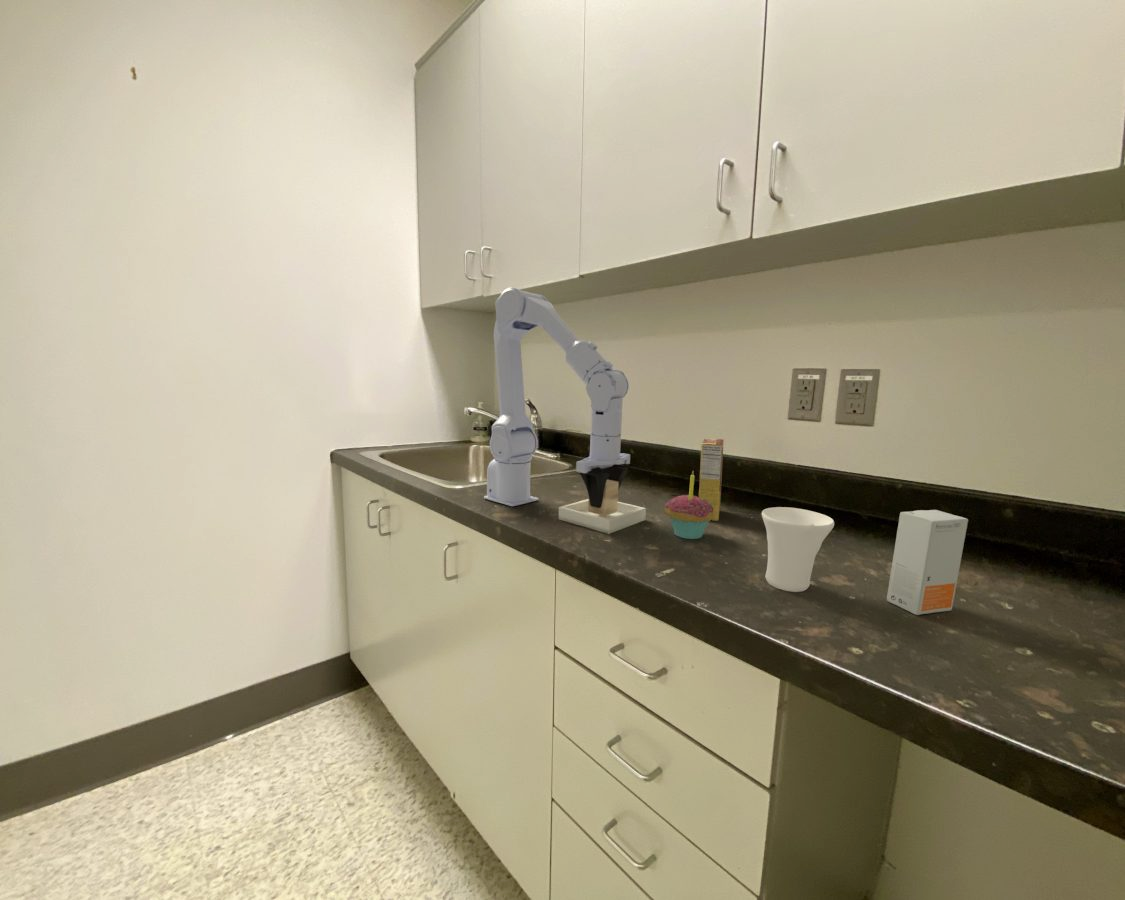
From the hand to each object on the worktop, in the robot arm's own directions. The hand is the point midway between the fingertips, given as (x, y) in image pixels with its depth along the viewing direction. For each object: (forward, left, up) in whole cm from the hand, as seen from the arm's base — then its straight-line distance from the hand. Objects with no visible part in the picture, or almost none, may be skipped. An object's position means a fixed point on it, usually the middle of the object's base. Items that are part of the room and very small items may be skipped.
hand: (602, 504), depth 93 cm
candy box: (+13, +19, -3) cm, 23 cm away
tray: (0, 0, -3) cm, 3 cm away
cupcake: (+16, +4, -3) cm, 17 cm away
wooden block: (0, 0, -1) cm, 1 cm away
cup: (+36, -5, -3) cm, 36 cm away
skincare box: (+50, 0, -3) cm, 50 cm away
